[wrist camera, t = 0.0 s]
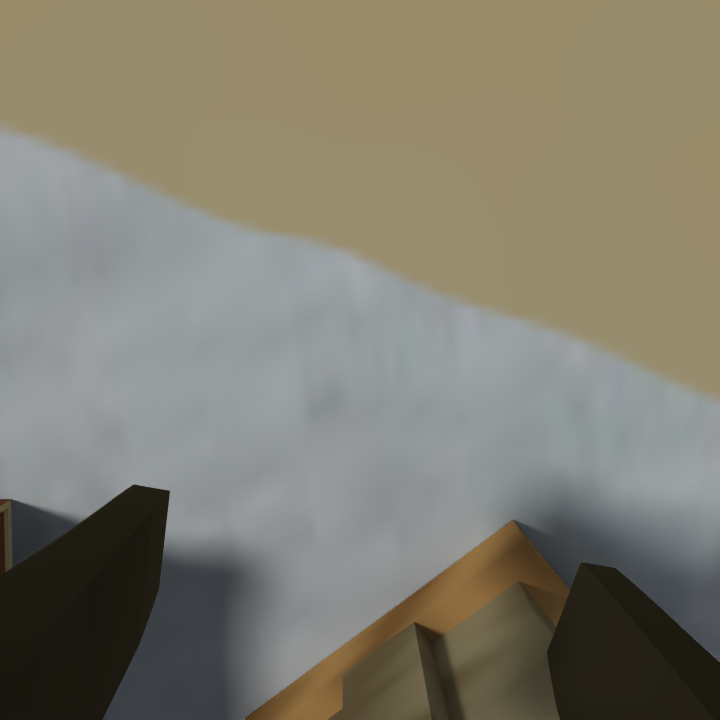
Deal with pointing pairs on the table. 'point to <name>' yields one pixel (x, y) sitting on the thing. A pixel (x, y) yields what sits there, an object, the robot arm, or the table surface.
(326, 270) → the table surface
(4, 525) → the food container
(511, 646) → the press
